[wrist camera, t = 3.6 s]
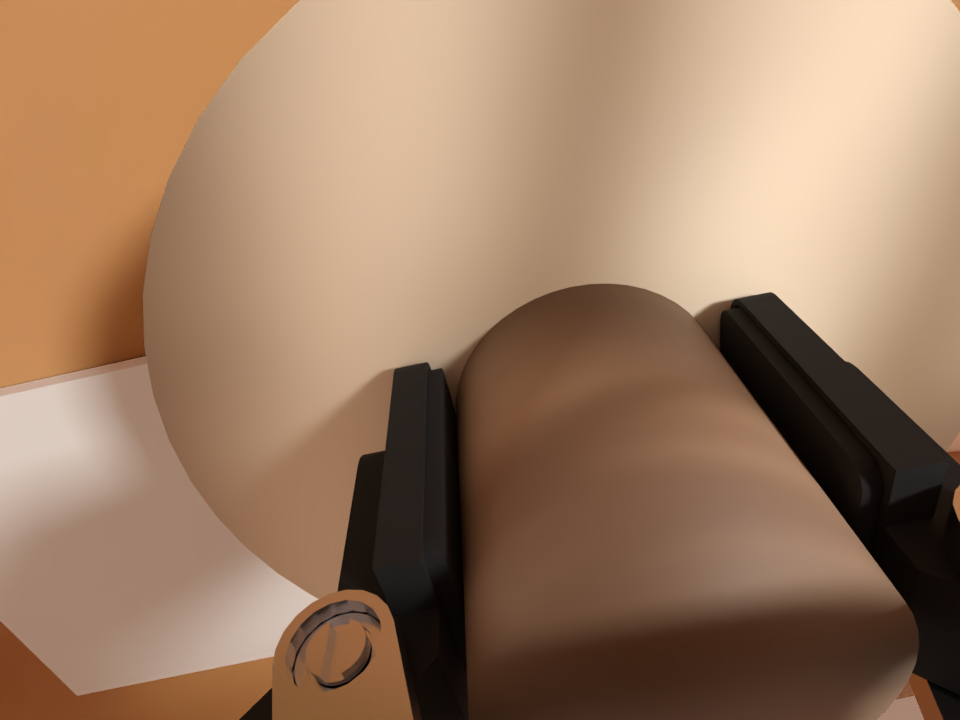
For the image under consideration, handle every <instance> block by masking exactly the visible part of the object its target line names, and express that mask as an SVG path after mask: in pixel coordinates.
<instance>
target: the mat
mask: <svg viewBox="0 0 960 720" xmlns="http://www.w3.org/2000/svg"><path fill="white" fill-rule="evenodd" d="M316 600H318V598H316V597H314V596H312V595H310V594H309V593H307V592H306V591H304V590H303V589H301V588H299V587H298V586H296V585H295V584H293V583H292V582H290V581H289V580H287V579H286V578H284V577H282V576H281V575H279V574H278V573H277V572H275V571H274V570H273V569H272V568H270V567H269V566H268V565H267V564H266V563H264V562H263V561H262V560H261V559H260V558H258V557H257V556H256V555H255V554H253V553H252V552H251V551H250V550H249V549H247V548H246V547H245V546H244V545H243V544H242V543H241V542H240V541H239V540H238V539H237V538H236V536H235V535H234V534H233V533H232V532H231V531H230V530H229V529H228V528H227V527H226V526H225V525H224V524H223V523H222V522H221V521H220V520H219V519H218V518H217V516H216V515H215V514H214V512H213V511H212V510H211V508H210V507H209V506H208V504H207V503H206V501H205V500H204V499H203V497H202V496H201V495H200V493H199V492H198V490H197V489H196V488H195V486H194V485H193V484H192V482H191V481H190V479H189V477H188V475H187V473H186V471H185V470H184V468H183V466H182V464H181V462H180V460H179V458H178V456H177V454H176V453H175V451H174V449H173V447H172V445H171V443H170V441H169V439H168V436H167V433H166V430H165V427H164V425H163V422H162V419H161V416H160V413H159V411H158V408H157V405H156V402H155V399H154V396H153V391H152V386H151V381H150V375H149V370H148V365H147V359H146V356H144V357H140V358H135V359H131V360H126V361H122V362H117V363H113V364H108V365H104V366H99V367H95V368H90V369H86V370H81V371H77V372H72V373H68V374H63V375H59V376H54V377H50V378H45V379H41V380H36V381H32V382H27V383H23V384H18V385H14V386H9V387H5V388H0V621H1V622H2V623H3V624H4V625H5V626H6V627H7V628H8V629H9V630H10V631H11V632H12V633H13V634H14V635H15V636H16V637H17V638H18V639H19V640H20V641H21V642H22V643H23V644H24V645H25V646H26V647H27V648H28V649H29V650H31V651H32V652H33V653H34V654H35V655H36V656H37V657H38V658H39V659H40V660H41V661H42V662H43V663H44V664H45V665H46V666H47V667H48V668H49V669H50V670H51V671H52V672H53V673H54V674H55V675H56V676H57V677H58V678H59V679H60V680H61V681H62V682H63V683H64V684H65V685H66V686H67V687H68V688H69V689H70V690H72V691H73V692H74V693H75V694H76V695H77V696H79V695H84V694H89V693H94V692H99V691H104V690H109V689H114V688H119V687H124V686H129V685H134V684H139V683H144V682H149V681H154V680H159V679H164V678H169V677H174V676H179V675H183V674H188V673H193V672H198V671H203V670H208V669H213V668H218V667H223V666H228V665H233V664H238V663H243V662H248V661H253V660H258V659H263V658H268V657H273V656H274V654H275V649H276V647H277V645H278V642H279V640H280V638H281V636H282V634H283V632H284V630H285V629H286V628H287V627H288V625H289V624H290V623H291V622H292V620H293V619H294V618H295V617H296V615H298V614H299V613H300V612H301V611H302V610H304V609H305V608H306V607H307V606H309V605H310V604H311V603H312V602H314V601H316Z"/></svg>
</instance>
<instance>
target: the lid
mask: <svg viewBox="0 0 960 720" xmlns="http://www.w3.org/2000/svg"><path fill="white" fill-rule="evenodd" d="M768 292H772V293H774V294H775V295H777V296H778V297H779V298H780V299H781V300H782V301H783V302H784V303H785V304H786V305H787V306H788V307H789V308H790V309H791V310H792V311H793V312H794V313H795V314H796V315H797V316H799V317H800V318H801V319H802V320H803V321H804V322H805V323H806V324H807V325H808V326H809V327H810V328H811V329H812V330H813V331H814V332H815V333H816V334H817V335H818V336H819V337H820V338H821V339H822V340H824V341H825V342H826V343H827V344H828V345H829V346H830V347H831V348H832V349H833V350H834V351H835V352H836V353H837V354H838V355H839V356H840V357H841V358H842V359H843V360H844V361H847V362H850V363H851V364H853V365H854V366H856V367H857V368H858V369H859V370H860V371H861V372H862V373H864V374H865V375H866V376H867V377H868V378H869V379H870V380H871V381H872V382H873V383H874V384H875V385H876V386H877V387H878V388H879V389H880V390H881V391H883V392H884V393H885V394H886V395H887V396H888V397H889V398H890V399H891V400H892V401H893V402H894V403H895V404H896V405H897V406H898V407H899V408H900V409H902V410H903V411H904V412H905V413H906V414H907V415H908V416H909V417H910V418H911V419H912V420H913V421H914V422H915V423H916V424H917V425H918V426H919V427H921V428H922V429H923V430H924V431H925V432H926V433H927V434H928V435H929V436H930V437H931V438H932V439H933V440H934V441H935V442H936V443H937V444H938V445H940V446H941V447H942V448H943V449H944V450H945V451H946V450H947V449H948V448H949V447H950V445H951V444H952V442H953V441H954V439H955V438H956V436H957V435H958V433H959V432H960V12H959V11H958V9H957V8H956V7H955V5H954V4H953V2H952V1H951V0H301V1H299V2H298V3H297V4H295V5H294V6H293V7H292V8H291V9H290V10H289V11H288V12H287V13H286V14H285V15H284V16H283V17H282V18H281V19H280V20H279V21H278V22H277V23H276V24H275V25H274V26H273V27H272V28H271V29H270V30H269V31H268V32H267V33H266V34H265V35H264V36H263V37H262V38H261V39H260V41H259V42H258V43H257V44H256V45H255V46H254V47H253V48H252V49H251V50H250V51H249V52H248V53H247V54H246V55H245V56H244V57H243V58H242V59H241V60H240V61H239V63H238V64H237V65H236V67H235V68H234V70H233V71H232V72H231V74H230V75H229V77H228V78H227V79H226V81H225V82H224V83H223V85H222V86H221V88H220V89H219V90H218V92H217V93H216V95H215V96H214V97H213V99H212V100H211V102H210V103H209V104H208V106H207V107H206V109H205V110H204V111H203V113H202V114H201V115H200V117H199V118H198V120H197V122H196V124H195V126H194V128H193V130H192V132H191V134H190V136H189V138H188V140H187V142H186V144H185V146H184V148H183V150H182V152H181V154H180V156H179V159H178V161H177V163H176V165H175V167H174V169H173V171H172V173H171V175H170V177H169V179H168V182H167V186H166V189H165V192H164V195H163V198H162V202H161V205H160V208H159V211H158V215H157V218H156V221H155V224H154V227H153V231H152V234H151V238H150V245H149V252H148V259H147V267H146V274H145V281H144V288H143V322H144V349H145V354H146V359H147V365H148V370H149V375H150V381H151V386H152V391H153V396H154V399H155V402H156V405H157V408H158V411H159V413H160V416H161V419H162V422H163V425H164V427H165V430H166V433H167V436H168V439H169V441H170V443H171V445H172V447H173V449H174V451H175V453H176V454H177V456H178V458H179V460H180V462H181V464H182V466H183V468H184V470H185V471H186V473H187V475H188V477H189V479H190V481H191V482H192V484H193V485H194V486H195V488H196V489H197V490H198V492H199V493H200V495H201V496H202V497H203V499H204V500H205V501H206V503H207V504H208V506H209V507H210V508H211V510H212V511H213V512H214V514H215V515H216V516H217V518H218V519H219V520H220V521H221V522H222V523H223V524H224V525H225V526H226V527H227V528H228V529H229V530H230V531H231V532H232V533H233V534H234V535H235V536H236V538H237V539H238V540H239V541H240V542H241V543H242V544H243V545H244V546H245V547H246V548H247V549H249V550H250V551H251V552H252V553H253V554H255V555H256V556H257V557H258V558H260V559H261V560H262V561H263V562H264V563H266V564H267V565H268V566H269V567H270V568H272V569H273V570H274V571H275V572H277V573H278V574H279V575H281V576H282V577H284V578H286V579H287V580H289V581H290V582H292V583H293V584H295V585H296V586H298V587H299V588H301V589H303V590H304V591H306V592H307V593H309V594H310V595H312V596H314V597H316V598H318V599H320V598H322V597H324V596H326V595H328V594H331V593H335V592H337V590H338V584H339V578H340V572H341V566H342V560H343V553H344V547H345V541H346V535H347V529H348V523H349V516H350V510H351V504H352V498H353V492H354V486H355V479H356V473H357V467H358V463H359V459H360V457H361V456H362V455H364V454H369V453H375V452H380V451H385V447H386V438H387V429H388V420H389V411H390V402H391V393H392V384H393V375H394V370H395V369H396V368H401V367H406V366H410V365H415V364H420V363H425V362H428V363H429V365H430V367H431V370H434V369H439V368H442V369H443V371H444V374H445V378H446V381H447V385H448V388H449V392H450V395H451V399H452V402H453V406H454V409H455V413H456V418H457V442H458V467H459V491H460V515H461V540H462V564H463V588H464V613H465V638H466V663H467V687H468V712H469V720H876V719H877V718H878V717H879V716H881V715H882V714H883V713H884V712H885V711H886V710H887V709H888V707H889V706H890V705H891V704H892V703H893V702H894V700H895V699H896V698H897V697H898V696H899V694H900V693H901V691H902V690H903V688H904V687H905V685H906V683H907V682H908V680H909V678H910V676H911V674H912V671H913V669H914V667H915V664H916V660H917V655H918V650H919V632H918V628H917V625H916V621H915V618H914V615H913V613H912V612H911V610H910V609H909V607H908V605H907V604H906V602H905V601H904V599H903V598H902V596H901V595H900V594H899V592H898V591H897V590H896V588H895V587H894V586H893V584H892V583H891V582H890V580H889V579H888V578H887V576H886V575H885V574H884V572H883V571H882V569H881V568H880V567H879V565H878V564H877V563H876V561H875V560H874V559H873V557H872V556H871V555H870V553H869V552H868V551H867V549H866V548H865V546H864V545H863V544H862V542H861V541H860V540H859V538H858V537H857V536H856V534H855V533H854V532H853V530H852V529H851V528H850V526H849V525H848V524H847V522H846V521H845V519H844V518H843V517H842V515H841V514H840V513H839V511H838V510H837V509H836V507H835V506H834V505H833V503H832V502H831V501H830V499H829V498H828V497H827V495H826V494H825V492H824V491H823V490H822V488H821V487H820V486H819V484H818V483H817V482H816V480H815V479H814V478H813V476H812V475H811V474H810V472H809V471H808V470H807V468H806V467H805V465H804V464H803V463H802V461H801V460H800V459H799V457H798V456H797V455H796V453H795V452H794V451H793V449H792V448H791V447H790V445H789V444H788V443H787V441H786V440H785V438H784V437H783V436H782V434H781V433H780V432H779V430H778V429H777V428H776V426H775V425H774V424H773V422H772V421H771V420H770V418H769V417H768V415H767V414H766V413H765V411H764V410H763V409H762V407H761V406H760V405H759V403H758V402H757V401H756V399H755V398H754V397H753V395H752V394H751V393H750V391H749V390H748V388H747V387H746V386H745V384H744V383H743V382H742V380H741V379H740V378H739V376H738V375H737V374H736V372H735V371H734V370H733V368H732V367H731V366H730V364H729V363H728V361H727V360H726V359H725V357H724V356H723V355H722V353H721V352H720V318H721V313H722V312H723V311H724V310H729V309H731V304H732V302H733V301H734V300H735V299H738V298H743V297H748V296H753V295H758V294H763V293H768Z"/></svg>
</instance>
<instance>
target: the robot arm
mask: <svg viewBox="0 0 960 720" xmlns="http://www.w3.org/2000/svg"><path fill="white" fill-rule="evenodd" d="M720 352H721V353H722V355H723V356H724V357H725V359H726V360H727V361H728V363H729V364H730V366H731V367H732V368H733V370H734V371H735V372H736V374H737V375H738V376H739V378H740V379H741V380H742V382H743V383H744V384H745V386H746V387H747V388H748V390H749V391H750V393H751V394H752V395H753V397H754V398H755V399H756V401H757V402H758V403H759V405H760V406H761V407H762V409H763V410H764V411H765V413H766V414H767V415H768V417H769V418H770V420H771V421H772V422H773V424H774V425H775V426H776V428H777V429H778V430H779V432H780V433H781V434H782V436H783V437H784V438H785V440H786V441H787V443H788V444H789V445H790V447H791V448H792V449H793V451H794V452H795V453H796V455H797V456H798V457H799V459H800V460H801V461H802V463H803V464H804V465H805V467H806V468H807V470H808V471H809V472H810V474H811V475H812V476H813V478H814V479H815V480H816V482H817V483H818V484H819V486H820V487H821V488H822V490H823V491H824V492H825V494H826V495H827V497H828V498H829V499H830V501H831V502H832V503H833V505H834V506H835V507H836V509H837V510H838V511H839V513H840V514H841V515H842V517H843V518H844V519H845V521H846V522H847V524H848V525H849V526H850V528H851V529H852V530H853V532H854V533H855V534H856V536H857V537H858V538H859V540H860V541H861V542H862V544H863V545H864V546H865V548H866V549H867V551H868V552H869V553H870V555H871V556H872V557H873V559H874V560H875V561H876V563H877V564H878V565H879V567H880V568H881V569H882V571H883V572H884V574H885V575H886V576H887V578H888V579H889V580H890V582H891V583H892V584H893V586H894V587H895V588H896V590H897V591H898V592H899V594H900V595H901V596H902V598H903V599H904V601H905V602H906V604H907V605H908V607H909V609H910V610H911V612H912V613H913V615H914V618H915V621H916V625H917V628H918V632H919V650H918V655H917V660H916V664H915V667H914V669H913V671H912V674H911V676H910V678H909V683H910V685H911V688H912V690H913V693H914V695H915V698H916V700H917V703H918V705H919V708H920V710H921V713H922V715H923V718H924V720H960V464H958V463H957V462H956V461H955V460H954V459H953V458H952V457H951V456H950V455H949V454H948V453H947V452H946V451H945V450H944V449H943V448H942V447H941V446H940V445H938V444H937V443H936V442H935V441H934V440H933V439H932V438H931V437H930V436H929V435H928V434H927V433H926V432H925V431H924V430H923V429H922V428H921V427H919V426H918V425H917V424H916V423H915V422H914V421H913V420H912V419H911V418H910V417H909V416H908V415H907V414H906V413H905V412H904V411H903V410H902V409H900V408H899V407H898V406H897V405H896V404H895V403H894V402H893V401H892V400H891V399H890V398H889V397H888V396H887V395H886V394H885V393H884V392H883V391H881V390H880V389H879V388H878V387H877V386H876V385H875V384H874V383H873V382H872V381H871V380H870V379H869V378H868V377H867V376H866V375H865V374H864V373H862V372H861V371H860V370H859V369H858V368H857V367H856V366H854V365H853V364H851V363H850V362H847V361H844V360H843V359H842V358H841V357H840V356H839V355H838V354H837V353H836V352H835V351H834V350H833V349H832V348H831V347H830V346H829V345H828V344H827V343H826V342H825V341H824V340H822V339H821V338H820V337H819V336H818V335H817V334H816V333H815V332H814V331H813V330H812V329H811V328H810V327H809V326H808V325H807V324H806V323H805V322H804V321H803V320H802V319H801V318H800V317H799V316H797V315H796V314H795V313H794V312H793V311H792V310H791V309H790V308H789V307H788V306H787V305H786V304H785V303H784V302H783V301H782V300H781V299H780V298H779V297H778V296H777V295H775V294H774V293H772V292H768V293H763V294H758V295H753V296H748V297H743V298H738V299H735V300H734V301H733V302H732V304H731V309H729V310H724V311H723V312H722V313H721V318H720ZM239 720H469V712H468V687H467V663H466V638H465V613H464V588H463V564H462V540H461V515H460V491H459V467H458V442H457V418H456V413H455V409H454V406H453V402H452V399H451V395H450V392H449V388H448V385H447V381H446V378H445V374H444V371H443V369H442V368H439V369H434V370H431V367H430V365H429V363H428V362H425V363H420V364H415V365H410V366H406V367H401V368H396V369H395V370H394V375H393V384H392V393H391V402H390V411H389V420H388V429H387V438H386V447H385V451H380V452H375V453H369V454H364V455H362V456H361V457H360V459H359V463H358V467H357V473H356V479H355V486H354V492H353V498H352V504H351V510H350V516H349V523H348V529H347V535H346V541H345V547H344V553H343V560H342V566H341V572H340V578H339V584H338V590H337V592H335V593H331V594H328V595H326V596H324V597H322V598H320V599H318V600H316V601H314V602H312V603H311V604H310V605H309V606H307V607H306V608H305V609H304V610H302V611H301V612H300V613H299V614H298V615H296V617H295V618H294V619H293V620H292V622H291V623H290V624H289V625H288V627H287V628H286V629H285V630H284V632H283V634H282V636H281V638H280V640H279V642H278V645H277V647H276V649H275V654H274V660H273V666H272V688H271V689H270V690H269V691H268V692H267V693H266V694H265V695H264V696H263V697H262V698H261V699H260V700H259V701H258V702H257V703H256V704H255V705H254V706H253V707H252V708H251V709H250V710H249V711H248V712H247V713H246V714H245V715H244V716H242V717H241V718H240V719H239Z"/></svg>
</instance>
